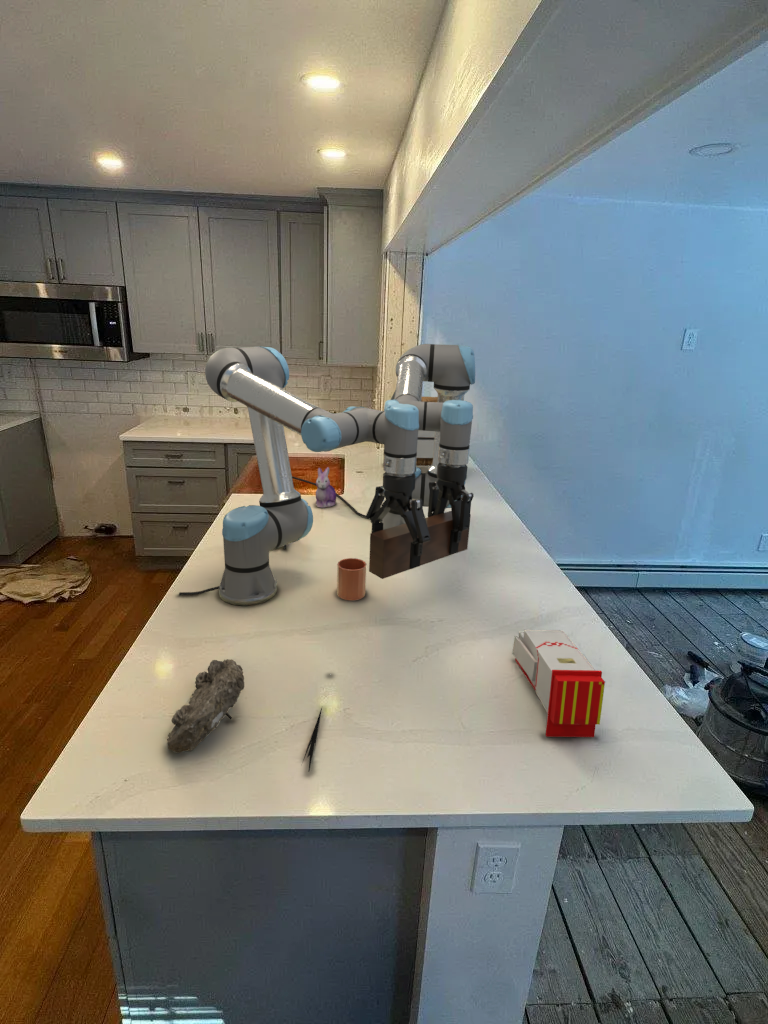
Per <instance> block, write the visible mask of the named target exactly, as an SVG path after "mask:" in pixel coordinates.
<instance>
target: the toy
mask: <svg viewBox="0 0 768 1024" xmlns="http://www.w3.org/2000/svg"><path fill="white" fill-rule="evenodd" d="M511 653H512V655H513V656H514V661H515V662H516V664H517V666H518V667H519V669H520V670H521V672H522V673H523V675H524V676H525V678H526V679H527V681H528V682H529V684H530V685H531V687H532V689H533V690H534V691H535V693H536V696H537V697H538V699H539V700H540V702H541V705H542V706H543V708H544V709H545V711H546V713H547V717H546V725H545V726H546V727H545V737H546V738H595V734H596V725H601V717H602V708H603V701H604V693H605V684H606V681H605V680H604V679H603V678H602V677H603V671H602V670H596V669H595V668H594V667H593V665H592V664H591V663H590V662H589V660H588V659H587V658H586V657H585V655H584V654H583V653H582V652H581V651H580V650H579V648H578V647H577V646H576V645H575V643H574V642H573V641H572V640H571V639H570V637H569V635H567V633H566V632H565V631H564V630H560V629H559V630H554V629H552V630H551V629H550V630H549V629H523V631H518V635H514V639H513V645H512V652H511Z"/></svg>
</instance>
